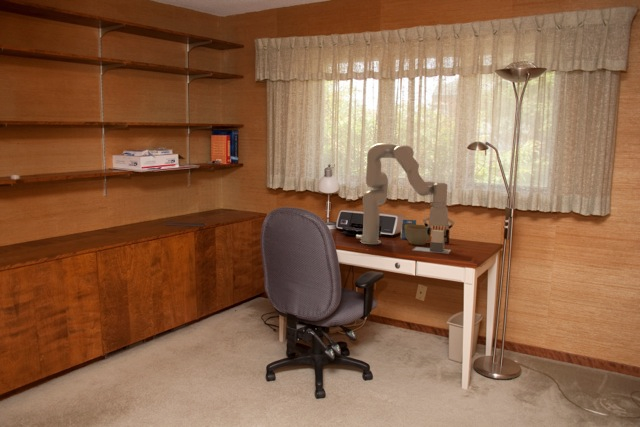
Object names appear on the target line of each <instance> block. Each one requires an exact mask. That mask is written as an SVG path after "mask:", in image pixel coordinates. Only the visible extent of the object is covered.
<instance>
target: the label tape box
mask: <svg viewBox="0 0 640 427" xmlns="http://www.w3.org/2000/svg"><path fill="white" fill-rule="evenodd" d="M406 225H417V219H402V223H401V225H400V239H401V240H408V239H407V237H406V235H405V226H406Z"/></svg>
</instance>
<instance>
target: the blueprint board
mask: <svg viewBox="0 0 640 427" xmlns="http://www.w3.org/2000/svg"><path fill="white" fill-rule="evenodd" d="M411 251H415V252H426V253H435V254H436V253H437V254H447V255H449V254H450V253H451V251H452V250H451V249H446V248H444V251H443V252H435V251H430V247H426V246H425V247H424V246H415V247H414V248H412V250H411Z"/></svg>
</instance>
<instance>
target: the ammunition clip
mask: <svg viewBox="0 0 640 427" xmlns="http://www.w3.org/2000/svg"><path fill="white" fill-rule="evenodd" d="M448 226H450V224H449V223H448ZM446 229H447V228H446V227H445V226H432V230H431V232H432V231H433V230H441V231H444V241H445V245H450V232H451V231H450V230H449V235H448V236H447V237H446Z"/></svg>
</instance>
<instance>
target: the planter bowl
mask: <svg viewBox="0 0 640 427" xmlns="http://www.w3.org/2000/svg"><path fill="white" fill-rule="evenodd" d="M430 228H431V229H430V235H428V234H427V227H426V226H425V225H424V224H416V225H406V226H405V235H406V237H407V239H406V240H407V242H409V244H411V245H426V243H427V242H428V241H429V240H430V238H431V236H432V228H433V226H430Z"/></svg>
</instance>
